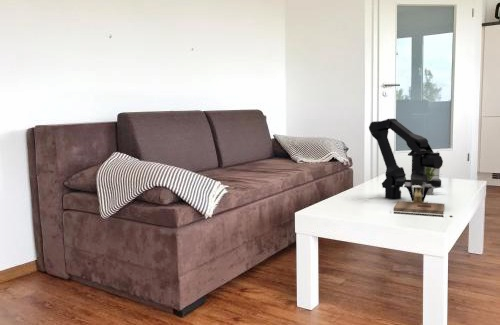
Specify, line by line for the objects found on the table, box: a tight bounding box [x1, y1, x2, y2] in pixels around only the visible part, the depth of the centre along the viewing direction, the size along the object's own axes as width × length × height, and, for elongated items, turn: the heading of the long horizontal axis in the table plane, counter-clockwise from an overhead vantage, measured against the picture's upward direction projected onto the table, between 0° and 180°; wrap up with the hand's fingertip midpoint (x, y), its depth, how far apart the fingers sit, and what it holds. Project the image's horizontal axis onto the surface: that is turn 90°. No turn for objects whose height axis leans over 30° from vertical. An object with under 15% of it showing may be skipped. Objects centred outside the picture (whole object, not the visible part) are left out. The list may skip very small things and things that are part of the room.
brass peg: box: [412, 186, 423, 203], centre depth 203 cm, size 4×4×7 cm
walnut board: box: [393, 200, 445, 218], centre depth 197 cm, size 19×23×3 cm
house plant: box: [420, 167, 443, 196], centre depth 227 cm, size 14×14×16 cm
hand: (417, 201), depth 204 cm, fingers open, 4 cm apart
